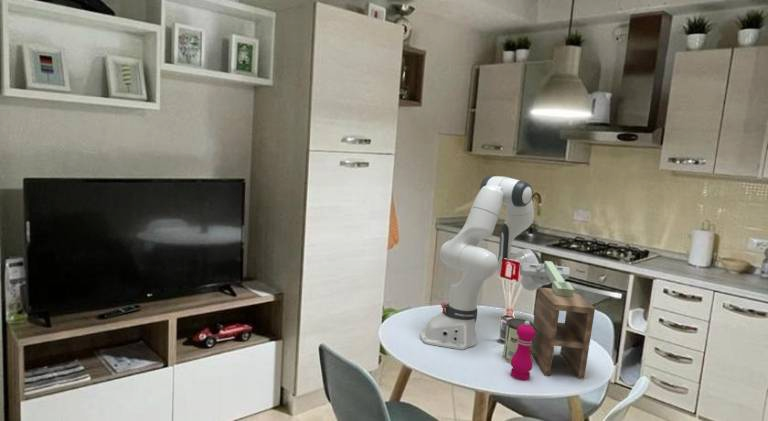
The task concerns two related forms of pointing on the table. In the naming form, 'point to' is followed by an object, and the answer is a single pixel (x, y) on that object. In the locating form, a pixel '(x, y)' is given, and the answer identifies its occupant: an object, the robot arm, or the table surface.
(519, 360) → the pepper mill
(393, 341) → the table surface
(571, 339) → the walnut shelf
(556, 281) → the green bar
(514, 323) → the coffee can
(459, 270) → the robot arm
